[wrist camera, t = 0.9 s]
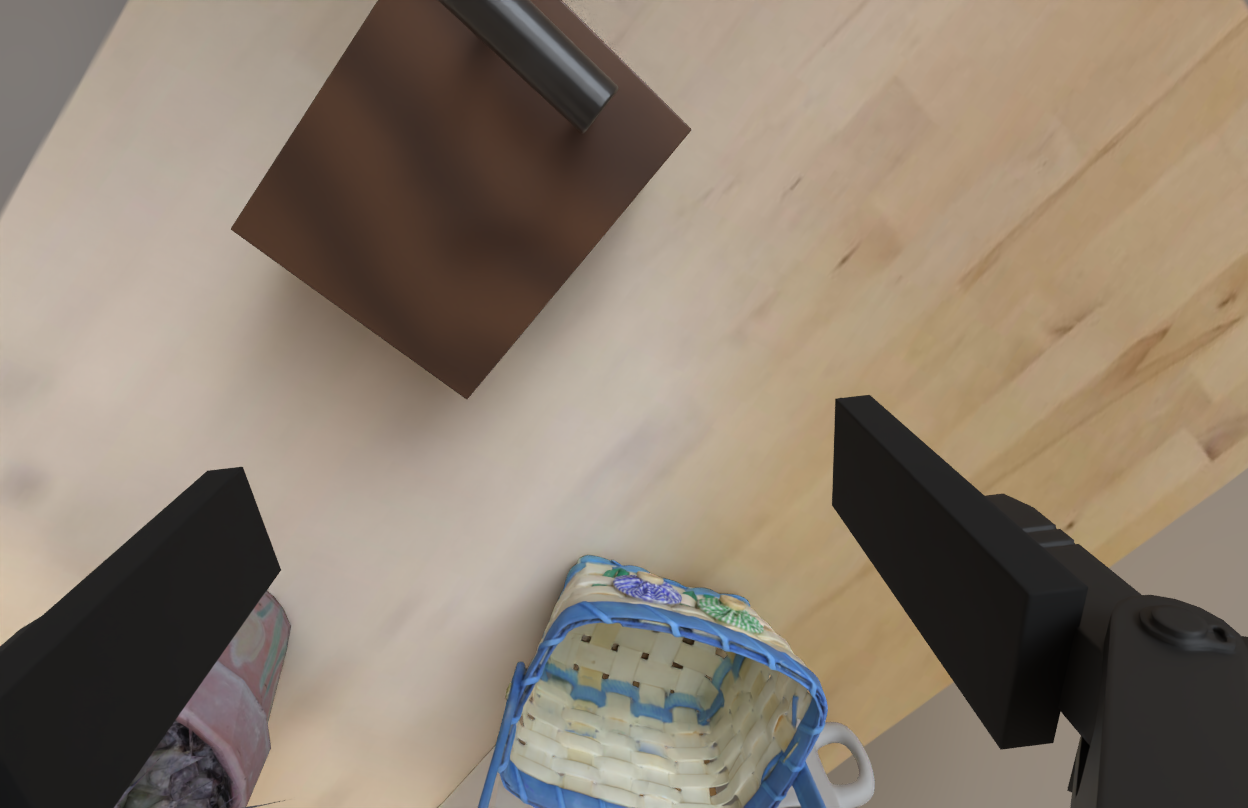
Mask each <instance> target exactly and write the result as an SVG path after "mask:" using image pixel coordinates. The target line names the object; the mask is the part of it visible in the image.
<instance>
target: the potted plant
mask: <svg viewBox="0 0 1248 808" xmlns="http://www.w3.org/2000/svg"><path fill="white" fill-rule="evenodd" d="M290 628H291V626H290V624H289V621H288V619H287V617H286V614H285V612H284V610H283V607H282V606H281V605H280V604H279V603H278V601H277V600H276V599H275V598H274V597H273V596H272V595H271V594H270V593H268V592H267V591H266V592H265V594H264V595H263V596H262V598H261V599H260V601H259V602H258V603H257V605H256V606H255V608H254V609H253V611H252V612H251V613H250V615H249V616H248V618H247V619H246V621H245V622H244V623H243V625H242V626H241V628H240V629H239V630H238V632H237V633H236V635H235V636H234V638H233V639H232V640H231V642H230V643H229V645H228V646H227V648H226V649H225V650H224V652H223V653H222V655H221V656H220V658H219V659H218V660H217V662H216V663H215V665H214V666H213V667H212V669H211V670H210V672H209V673H208V675H207V676H206V677H205V679H204V680H203V682H202V683H201V685H200V686H199V687H198V689H197V690H196V692H195V693H194V694H193V696H192V697H191V699H190V700H189V702H188V703H187V704H186V706H185V707H184V709H183V710H182V712H181V713H180V714H179V716H178V717H177V719H176V720H175V721H174V723H173V724H172V726H171V727H170V729H169V730H168V731H167V733H166V734H165V736H164V737H163V739H162V740H161V741H160V743H159V744H158V746H157V747H156V749H155V750H154V751H153V753H152V754H151V756H150V757H149V758H148V760H147V761H146V763H145V764H144V766H143V767H142V768H141V770H140V771H139V773H138V774H137V776H136V777H135V778H134V780H133V781H132V783H131V784H130V785H129V787H128V788H127V790H126V791H125V793H124V794H123V795H122V797H121V798H120V800H119V801H118V803H117V804H116V805H115V807H114V808H253V807H258V806H262V805H258V806H250V807H246V806H247V804H248V801H249V799H250V796H251V794H252V792H253V789H254V787H255V785H256V782H257V780H258V777H259V775H260V773H261V770H262V768H263V766H264V763H265V761H266V758H267V756H268V754H269V751H270V749H271V744H270V737H269V730H268V721H269V717H270V713H271V709H272V705H273V701H274V697H275V693H276V689H277V685H278V681H279V678H280V674H281V670H282V666H283V662H284V658H285V654H286V650H287V645H288V639H289V633H290ZM284 801H285V800H284ZM279 802H280V801H279ZM274 803H276V802H274ZM269 804H271V803H269ZM264 805H267V804H264Z"/></svg>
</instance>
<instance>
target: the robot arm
mask: <svg viewBox="0 0 1248 808" xmlns="http://www.w3.org/2000/svg"><path fill="white" fill-rule="evenodd" d="M832 506H833V507H834V509H835V510H836V511H837V513H838V514H839V516H840V517H841V519H842V520H843V522H844V523H845V525H846V526H847V527H848V529H849V530H850V532H851V533H852V535H853V536H854V538H855V539H856V540H857V542H858V543H859V545H860V546H861V548H862V549H863V551H864V552H865V554H866V555H867V556H868V558H869V559H870V561H871V562H872V564H873V565H874V567H875V568H876V569H877V571H878V572H879V574H880V575H881V577H882V578H883V580H884V581H885V583H886V584H887V585H888V587H889V588H890V590H891V591H892V593H893V594H894V596H895V597H896V598H897V600H898V601H899V603H900V604H901V606H902V607H903V609H904V610H905V612H906V613H907V614H908V616H909V617H910V619H911V620H912V622H913V623H914V625H915V626H916V627H917V629H918V630H919V632H920V633H921V635H922V636H923V638H924V639H925V641H926V642H927V643H928V645H929V646H930V648H931V649H932V651H933V652H934V654H935V655H936V656H937V658H938V659H939V661H940V662H941V664H942V665H943V667H944V668H945V670H946V671H947V672H948V674H949V675H950V677H951V678H952V680H953V681H954V683H955V684H956V685H957V687H958V688H959V690H960V691H961V692H962V694H963V696H964V697H965V698H966V700H967V701H968V703H969V704H970V706H971V707H972V709H973V710H974V712H975V713H976V714H977V716H978V717H979V719H980V720H981V722H982V723H983V725H984V726H985V727H986V729H987V730H988V732H989V733H990V735H991V736H992V738H993V739H994V741H995V742H996V743H997V745H998V746H999V748H1000V749H1009V748H1016V747H1024V746H1032V745H1040V744H1048V743H1053V742H1054V737H1055V733H1056V729H1057V724H1058V720H1059V715H1060V711H1061V712H1062V713H1063V715H1064V716H1065V717H1066V718H1067V719H1068V720H1069V722H1070V723H1071V724H1072V725H1073V726H1074V728H1075V729H1076V730H1077V731H1078V732H1079V734H1080V735H1081V737H1080V741H1079V746H1078V749H1077V753H1076V757H1075V762H1074V765H1073V770H1072V774H1071V778H1070V782H1069V786H1068V791H1070V792H1072V799H1071V808H1248V637H1244V636H1240V634H1239V633H1237V632H1236V631H1235V630H1234V629H1233V628H1232V627H1230V626H1229V625H1228V624H1227V623H1226V622H1225V621H1224V620H1222V619H1220V618H1218V617H1216V616H1215V615H1213V614H1211V613H1209V612H1207V611H1205V610H1204V609H1202V608H1200V607H1197V606H1194V605H1191V604H1188V603H1185V602H1182V601H1179V600H1176V599H1171V598H1166V597H1160V596H1154V595H1141V594H1140V593H1138V592H1137V591H1136V590H1135V589H1134V588H1132V587H1131V586H1130V585H1128V584H1127V583H1126V582H1125V581H1124V580H1123V579H1121V578H1120V577H1119V576H1117V575H1116V574H1115V573H1114V572H1112V571H1111V570H1110V569H1109V568H1108V567H1106V566H1105V565H1104V564H1103V563H1102V562H1100V561H1099V560H1098V559H1097V558H1095V557H1094V556H1093V555H1092V554H1090V553H1089V552H1088V551H1087V550H1085V549H1084V548H1083V547H1082V546H1081V545H1079V544H1075V543H1074V540H1073V539H1072V538H1071V537H1069V536H1068V535H1067V534H1066V533H1064V532H1063V531H1062V530H1061V529H1056V525H1055V524H1053V523H1052V522H1051V521H1050V520H1048V519H1047V518H1046V517H1045V516H1043V515H1042V514H1041V513H1040V512H1038V511H1037V510H1036V509H1035V508H1033V507H1031V506H1029V505H1027V504H1025V503H1023V502H1020V501H1018V500H1016V499H1014V498H1012V497H1010V496H1007V495H1005V494H996V495H988V496H984V495H983V494H982V493H981V492H979V491H978V490H977V489H976V488H975V487H974V486H973V485H972V484H970V483H969V482H968V481H967V480H966V479H965V478H964V477H962V476H961V475H960V474H959V473H958V472H957V471H956V470H954V469H953V468H952V467H951V466H950V465H949V464H948V463H946V462H945V461H944V460H943V459H942V458H941V457H940V456H938V455H937V454H936V453H935V452H934V451H933V450H932V449H931V448H929V447H928V446H927V445H926V444H925V443H924V442H923V441H921V440H920V439H919V438H918V437H917V436H916V435H915V434H913V433H912V432H911V431H910V430H909V429H908V428H907V427H905V426H904V425H903V424H902V423H901V422H900V421H899V420H898V419H896V418H895V417H894V416H893V415H892V414H891V413H890V412H888V411H887V410H886V409H885V408H884V407H883V406H882V405H880V404H879V403H878V402H877V401H876V400H875V399H874V398H872V397H871V396H870V395H864V396H856V397H847V398H838V399H836V401H835V432H834V462H833V493H832ZM280 571H281V569H280V566H279V563H278V561H277V558H276V555H275V552H274V550H273V547H272V544H271V542H270V539H269V536H268V534H267V531H266V528H265V526H264V523H263V520H262V517H261V515H260V512H259V509H258V507H257V504H256V501H255V499H254V496H253V493H252V491H251V488H250V485H249V482H248V480H247V477H246V474H245V472H244V469H243V467H236V468H228V469H219V470H210V471H207V472H205V473H204V474H203V475H202V476H201V477H200V478H199V479H198V480H196V481H195V482H194V483H193V484H192V485H191V486H190V487H188V488H187V489H186V490H185V491H184V492H183V493H182V494H180V495H179V496H178V497H177V498H176V499H175V500H174V501H172V502H171V503H170V504H169V505H168V506H167V507H166V508H164V509H163V510H162V511H161V512H160V513H159V514H158V515H156V516H155V517H154V518H153V519H152V520H151V521H150V522H148V523H147V524H146V525H145V526H144V527H143V528H142V529H141V530H139V531H138V532H137V533H136V534H135V535H134V536H133V537H131V538H130V539H129V540H128V541H127V542H126V543H125V544H123V545H122V546H121V547H120V548H119V549H118V550H117V551H115V552H114V553H113V554H112V555H111V556H110V557H109V558H107V559H106V560H105V561H104V562H103V563H102V564H101V565H99V566H98V567H97V568H96V569H95V570H94V571H93V572H92V573H90V574H89V575H88V576H87V577H86V578H85V579H84V580H82V581H81V582H80V583H79V584H78V585H77V586H76V587H74V588H73V589H72V590H71V591H70V592H69V593H68V594H66V595H65V596H64V597H63V598H62V599H61V600H60V601H58V602H57V603H56V604H55V605H54V606H53V607H52V608H50V609H49V610H48V611H47V612H46V613H45V614H44V615H43V616H41V617H39V618H38V619H36V620H35V621H33V622H31V623H30V624H28V625H27V626H25V627H23V628H22V629H20V630H19V631H18V632H16V633H15V634H14V635H13V636H12V637H11V638H9V639H8V640H7V641H6V642H5V643H4V644H3V645H1V646H0V808H114V807H115V805H116V804H117V803H118V801H119V800H120V798H121V797H122V795H123V794H124V793H125V791H126V790H127V788H128V787H129V785H130V784H131V783H132V781H133V780H134V778H135V777H136V776H137V774H138V773H139V771H140V770H141V768H142V767H143V766H144V764H145V763H146V761H147V760H148V758H149V757H150V756H151V754H152V753H153V751H154V750H155V749H156V747H157V746H158V744H159V743H160V741H161V740H162V739H163V737H164V736H165V734H166V733H167V731H168V730H169V729H170V727H171V726H172V724H173V723H174V721H175V720H176V719H177V717H178V716H179V714H180V713H181V712H182V710H183V709H184V707H185V706H186V704H187V703H188V702H189V700H190V699H191V697H192V696H193V694H194V693H195V692H196V690H197V689H198V687H199V686H200V685H201V683H202V682H203V680H204V679H205V677H206V676H207V675H208V673H209V672H210V670H211V669H212V667H213V666H214V665H215V663H216V662H217V660H218V659H219V658H220V656H221V655H222V653H223V652H224V650H225V649H226V648H227V646H228V645H229V643H230V642H231V640H232V639H233V638H234V636H235V635H236V633H237V632H238V630H239V629H240V628H241V626H242V625H243V623H244V622H245V621H246V619H247V618H248V616H249V615H250V613H251V612H252V611H253V609H254V608H255V606H256V605H257V603H258V602H259V601H260V599H261V598H262V596H263V595H264V594H265V592H266V591H267V589H268V588H269V586H270V585H271V584H272V582H273V581H274V579H275V578H276V576H277V575H278V574H279V572H280Z"/></svg>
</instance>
